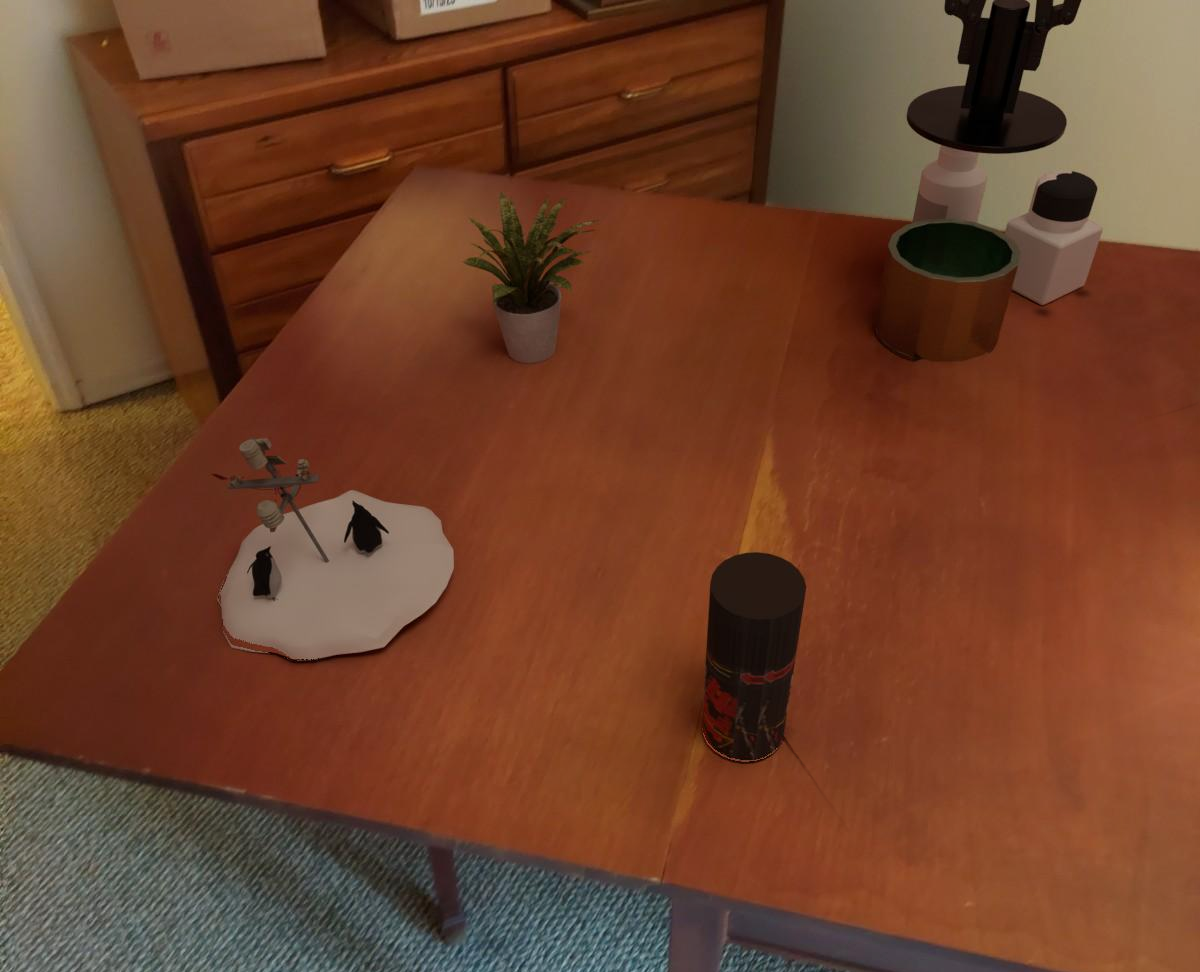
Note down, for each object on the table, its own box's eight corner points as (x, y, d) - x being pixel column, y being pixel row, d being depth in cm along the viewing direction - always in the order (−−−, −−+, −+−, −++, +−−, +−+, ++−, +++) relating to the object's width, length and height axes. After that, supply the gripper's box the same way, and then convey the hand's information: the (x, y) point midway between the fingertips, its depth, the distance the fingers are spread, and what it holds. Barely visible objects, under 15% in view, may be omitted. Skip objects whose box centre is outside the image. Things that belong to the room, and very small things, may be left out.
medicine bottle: (1085, 286, 118) (1120, 181, 109) (1042, 307, 115) (1074, 200, 106) (1033, 261, 122) (1063, 157, 113) (990, 280, 119) (1018, 175, 111)
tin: (1022, 346, 110) (1047, 262, 103) (921, 378, 107) (940, 293, 100) (947, 290, 118) (966, 208, 111) (851, 318, 115) (864, 235, 108)
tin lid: (1097, 140, 92) (1136, 13, 85) (969, 173, 89) (998, 43, 81) (995, 88, 101) (1022, -33, 94) (875, 115, 97) (893, -7, 90)
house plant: (571, 406, 105) (561, 253, 93) (444, 383, 109) (419, 233, 97) (616, 330, 114) (612, 183, 103) (497, 312, 118) (481, 167, 106)
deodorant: (794, 756, 75) (818, 612, 64) (712, 769, 75) (723, 626, 64) (771, 692, 79) (790, 546, 69) (693, 704, 79) (700, 559, 68)
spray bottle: (919, 247, 125) (950, 88, 112) (974, 263, 122) (1013, 101, 109) (894, 272, 121) (923, 111, 108) (951, 289, 118) (988, 125, 105)
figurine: (447, 486, 95) (398, 332, 83) (465, 636, 83) (410, 481, 71) (228, 533, 95) (148, 385, 83) (213, 691, 83) (116, 544, 71)
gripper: (942, -224, 76) (888, 111, 93) (1184, -218, 72) (1082, 132, 89) (956, -242, 81) (903, 79, 98) (1184, -237, 77) (1087, 98, 94)
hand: (988, 104), depth 93 cm, fingers closed on tin lid, 3 cm apart
